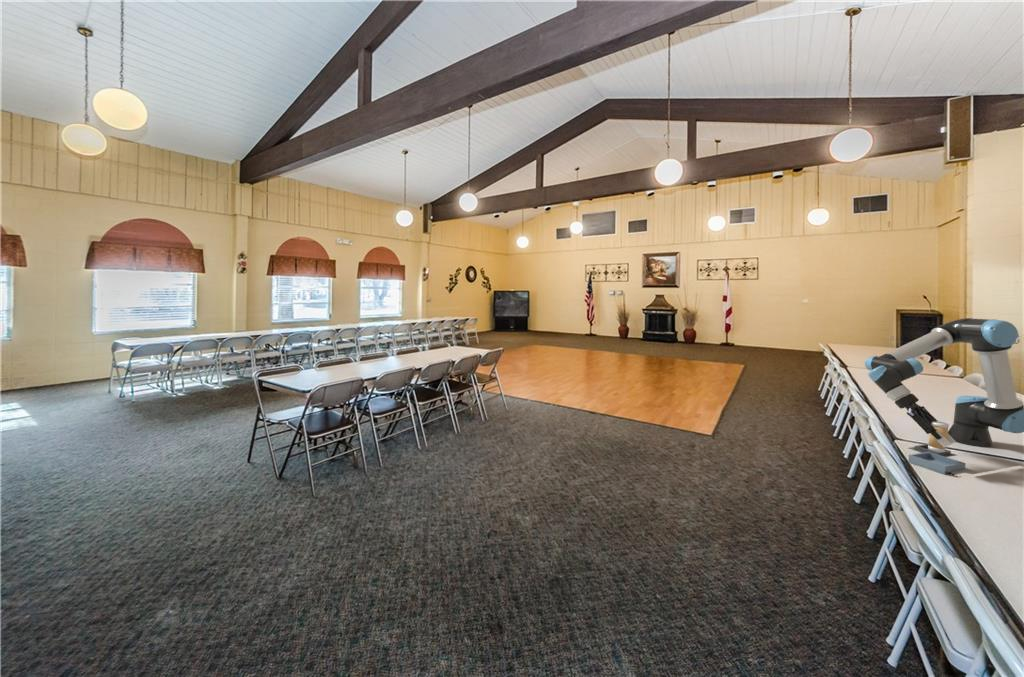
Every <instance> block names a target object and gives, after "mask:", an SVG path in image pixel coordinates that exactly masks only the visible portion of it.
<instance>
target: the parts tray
mask: <svg viewBox="0 0 1024 677" xmlns="http://www.w3.org/2000/svg"><path fill="white" fill-rule="evenodd" d="M907 463H908V464H911V465H914V466H918V467H921V468H924V469H927V470H929V471H932V472H935V473H939V474H941V475H944V476H946V475H950V474H952V472H954V471H955V472H956V471H961V470H965V469H966V465H967V463H966V462H963V461H961V460H957V459H954V458H951V457H944V456H941V455H937V454H934V453H931V452H924V453H921V452H918V453H913V454H911V453H910V454H908V462H907Z"/></svg>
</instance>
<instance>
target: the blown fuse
mask: <svg viewBox="0 0 1024 677" xmlns="http://www.w3.org/2000/svg"><path fill="white" fill-rule="evenodd" d="M931 425H932V426H933V427H934V428H935V429H936V431H937V430H938V431H939V432H940V433H941V434H942V435H943V436H944V437H945V438H946V439H947V433H948V431H949V426H950V425H949V423H947V422H943V421H938V420H937V421H932V422H931ZM927 444H928V449H929V450H932V451H936V452H945V449H946V447H943V446H942V445H941V444H940V443H939V442H938V441H937V440H936V439H935V438H934V437H933V436H932V435H931V434H929V438H928V443H927Z"/></svg>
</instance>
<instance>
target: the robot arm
mask: <svg viewBox="0 0 1024 677" xmlns="http://www.w3.org/2000/svg"><path fill="white" fill-rule="evenodd" d="M1018 338H1019V332H1018V329H1017V328H1016V326H1015V324H1013V323H1011V322H1009V321H1007V320H1001V319H1000V320H999V319H995V318H994V319H988V318H987V319H986V318H985V319H984V318H983V319H982V318H971V317H965V318H959V319H955V320H952V321H948V322H945V323H943V324H940V325H939V326H937V327H934V328H932V329H931V331H930V332H929V333H927V334H925V335H924V334H923V335H922V336H921V337H918V338H916V339H914V340H912V341H910V342H908V343H905V344H903V345H901V346H899V347H897V348H894V349H892V350H890V351H888V352H886V353H885V354H882V355H879V356H876V355H875V356H874V355H872V356H868V357H867V358H866V359H865V360H864V367H865V368H866V369H867V370H868V371H869V372H868V373H867V375H868V377H869V378H870V379H871V381H872V382H873V383H874V384H875V385H876V386H877V387H878V388H879V389H880V390H881V391H882V392H883V393H884V394H885V395H886V397H887V398H889V399H890V400H891V401H894V404H895V405H896V406H897V407H898V408H899V409H906V410H907V412H906V415H908V416H909V417H910V418H911V419H912V420H913V421H914V422H915V423H916V424H917V425H918V426H919V427H920V428H921V429H922V430H923V431H924V432H925V433H926V435H930V434H931V435H932V436H933V437H934V438H935V439H936V440H937V441H938V442H939V443H940V444H941V445H942V446H943V447H945V448H947V447H948V446H951V445H953V444H954V443H959V444H964V445H970V446H973V447H974V446H975V447H984V448H985V447H987V448H988V447H991V446H992V445H993V440H992V437H991V433H990V430H989V427H990V428H993V429H997V430H1001V431H1003V432H1005V433H1011V434H1022V433H1024V401H1022V400H1020V399H1018V398H1017V392H1016V388H1015V383H1014V377H1013V373H1012V368H1011V362H1010V358H1009V353H1008V352H1009V350H1010V349H1012V347H1013V345H1014V344H1015V343H1017V341H1018V340H1017V339H1018ZM955 343H956V344H957V343H967V344H971V348H972V351H973V352H976V354H977V353H978V358H979V362H980V366H981V372H982V376H983V377H982V378H983V383H984V386H985V390H986V396H980V395H979V396H977V395H960V396H958V397H957V398H956V402H955V404H954V414H953V422H952V425H951V426H950V428H948V433H947V439H946V438H945V437H944V436H943V435H942V434H941V433H940V432H939V431H938V430H937V431H936V429H935V428H934V427H933V426H932V425H931V422H932V421H938V419H936V417H934V416H933V415H932V414H931V413H930V412H929V411H928V409H927V408H926V407H925V406H923V405H922V406H921V405H919V404H917V402H919V397H917V396H915V394H914V393H911V390H910V389H909V388H907V386H906V385H904V384H903V382H904V381H906V380H908V379H911V378H914V377H915V376H917V375H919V374H921V373H922V372H923V371H924V366H923V364H922V363H921V362H920V361H919V360H917V358H918V357H921V356H923V355H925V354H928V353H929V352H932V351H934V350H936V349H939V348H941V347H943V346H950V345H952V344H955Z"/></svg>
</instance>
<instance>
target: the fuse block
mask: <svg viewBox="0 0 1024 677" xmlns="http://www.w3.org/2000/svg"><path fill="white" fill-rule="evenodd" d="M928 444H929V443H925V444H919V445H914V446H912V447H908V448H907V449H909V450H912V451H915V452H918V453H924V452H931V453H934V454H937V455H941V456H944V457H947V458H951V457H955V456H957V454H955V453H952V451H951V450H948V449H946V448H945V452H936V451H932V450H929V449H928Z"/></svg>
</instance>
